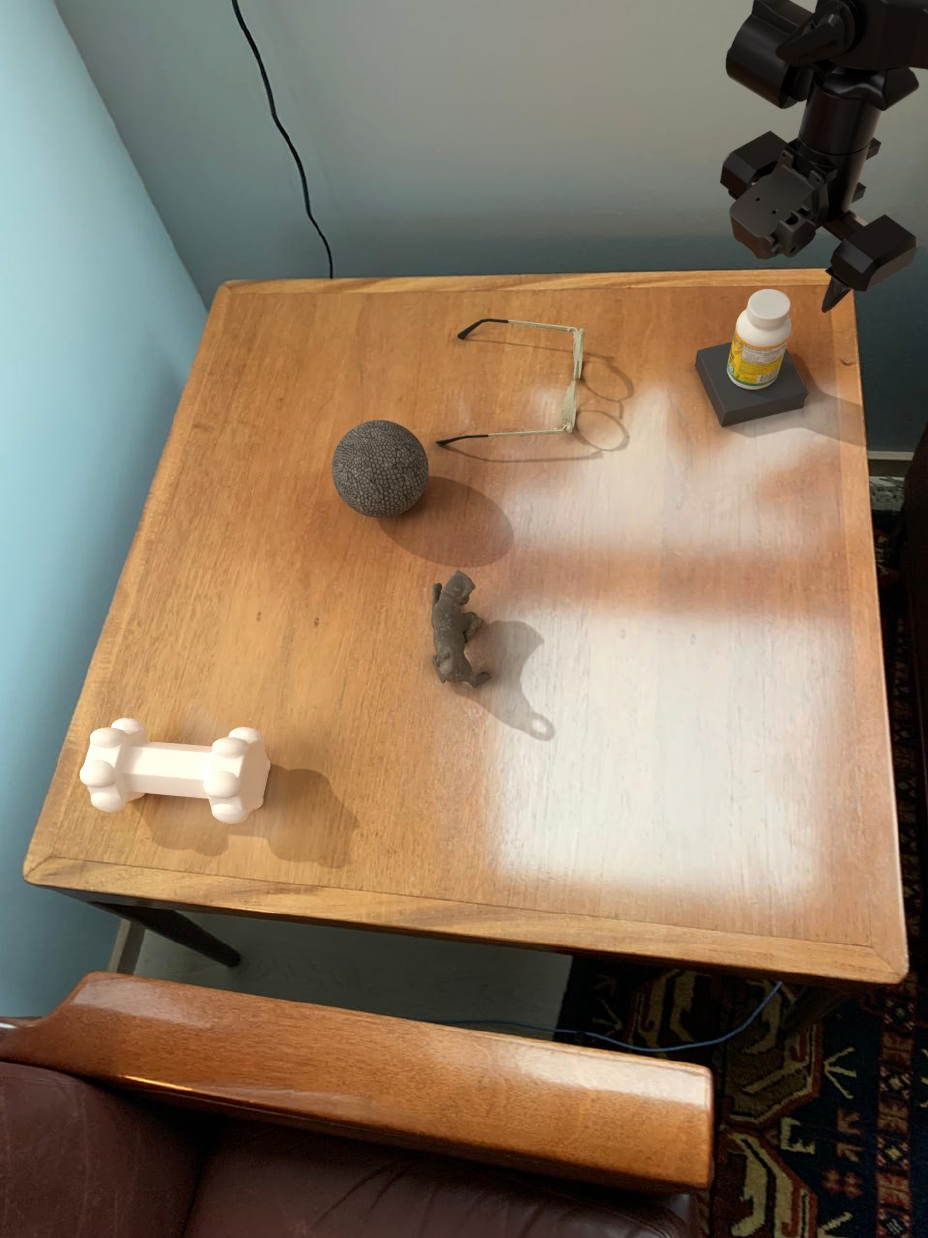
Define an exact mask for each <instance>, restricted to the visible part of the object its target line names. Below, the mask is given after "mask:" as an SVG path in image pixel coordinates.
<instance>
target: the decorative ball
mask: <svg viewBox="0 0 928 1238" xmlns="http://www.w3.org/2000/svg"><path fill="white" fill-rule="evenodd" d="M429 468H430V467H429V460H428V456H427V453H426V450H425V448H424V445H423V444H422V443H421V441H420V439H419V438H418V437H417V435H415V434H414V433H413V432H412V431H410V429H408V428H407V427H405V426H403V425H401V424H400V423H397V422H393V421H391V420H386V419H374V420H369V421H366V422H362V423H360V424H358V425H356V426H355V427H353V428H351V429H350V430H348V431H347V432H346V433H345V434H344V435H343V437H342V438H341V439H340V441H339V442H338V443H337V445H336V447H335V450H334V451H333V456H332V462H331V475H332V481H333V484H334V487H335V490H336V492H337V493H338V495H339V497H340V498H341V500H343V502H344V503H345V504H346V505H347V506H348V507H349V508H351V509H352V510H354V511H355V512H357V513H358V514H361V515H363V516H366V517H368V518H373V519H388V518H393V517H396V516H399V515H401V514H403V513H405V512H407V511H408V510H409V509H411V508H413V506H414V505H415V504H416V503H417V502H418V501H419V499H420V498H421V497H422V496H423V494H424V492H425V490H426V487H427V484H428V480H429V473H430V472H429V470H430V469H429Z"/></svg>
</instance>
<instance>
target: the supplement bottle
mask: <svg viewBox="0 0 928 1238" xmlns="http://www.w3.org/2000/svg"><path fill="white" fill-rule="evenodd" d="M791 304H792V303H791V300H790V298H789V297H788V295H786V293H784V292H783V291H780V290H777V289H774V288H763V289H759V290H757V291H755V292H753V294H752V295H751V296H750V297H749V299H748V301H747V305H746V308H745V309H744V310H743V311H742V312H741V313H740V314H739V316H738V318H737V320H736V324H735V328H734V333H733V337H732V341H731V342H732V346H731V350H730V355H729V360H728V364H727V372H728V375H729V377H730V379H731V380H732V381H733V382H734V383H735V384H736V385H737V386H739V387H742V388H745V389H750V390H756V389H762V388H765V387H767V386H769V385H770V384H771V383H773V382H774V380H775V379H776V378H777V376H778V373H779V369H780V366H781V362H782V359H783V356H784V352H785V349H787V345H788V342H789V339H790V336H791V333H792V325H793V324H792V319H791V317H790V310H791V307H792V306H791Z"/></svg>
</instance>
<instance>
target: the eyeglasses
mask: <svg viewBox="0 0 928 1238" xmlns="http://www.w3.org/2000/svg"><path fill="white" fill-rule="evenodd" d="M483 323H484V324H485V323H502V324H510V325H517V326H524V327H530V328H539V329H545V330H553V331H562V332H567V333H570V332H572V337H573V342H572V353H573V355H572V356H573V364H574V370H573V371H574V372H573V373H571V375H572V376H573V380H571V382H570V385H568V388H567V390H566V392H565V396H564V400H563V405H562V409H561V416H560V418H561V420H567V422H566V424H562V425H561V427H562V428H561V429H558V428H557V427H555V426H554V428H553V429H543V430H529V431H514V432H511V431H510V432H497V433H489V434H473V435H472V434H471V435H470V434H469V435H461V436H456V437H452V438H447V439H439V440H436V441H435V444H436V445H441V446H444V445H448V444H451V443H454V442H457V441H460V440H467V439H481V438H483V439H484V438H508V437H509V438H510V437H512V438H513V437H531V436H534V437H535V436H546V435H547V436H549V435H550V436H551V435H563V434H564V433H565V431H566V433H569V434H571V433H572V432H573V429H574V428H575V423H576V414H577V403H578V382H577V379H578V380H579V379H580V378H581V375H582V367H583V356H584V355H583V354H584V336H585V334H586V333H585V331H586V330H585V328H583V327H582V328H579V330H578V329H577V327H575V326H567V325H566V326H565V325H558V324H549V323H539V322H531V321H523V320H522V321H521V320H515V319H509V320H508V319H501V318H484V319H483V318H482V319H479V320H478V321H475V322H474V323H473V324H471V325H470V326H468V327H466V328H465V329H463V330H462V331H460V332H459V333H457V335H456V337H457V339H460V340H464V339H465V338H466V337H468V336H469V334H470V333H472V332H473V331H474V330H475V329H477V328H478V327H479V326H480V325H482V324H483Z"/></svg>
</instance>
